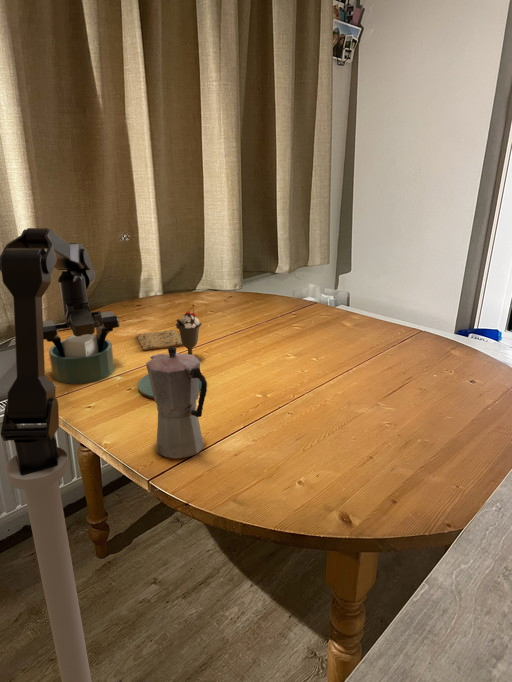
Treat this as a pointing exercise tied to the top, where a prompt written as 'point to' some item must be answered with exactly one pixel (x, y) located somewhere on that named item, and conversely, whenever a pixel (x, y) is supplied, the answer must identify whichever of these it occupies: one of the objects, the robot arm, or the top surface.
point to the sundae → (189, 330)
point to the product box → (80, 346)
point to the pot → (82, 365)
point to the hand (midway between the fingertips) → (82, 357)
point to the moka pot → (177, 402)
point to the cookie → (159, 339)
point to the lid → (146, 388)
